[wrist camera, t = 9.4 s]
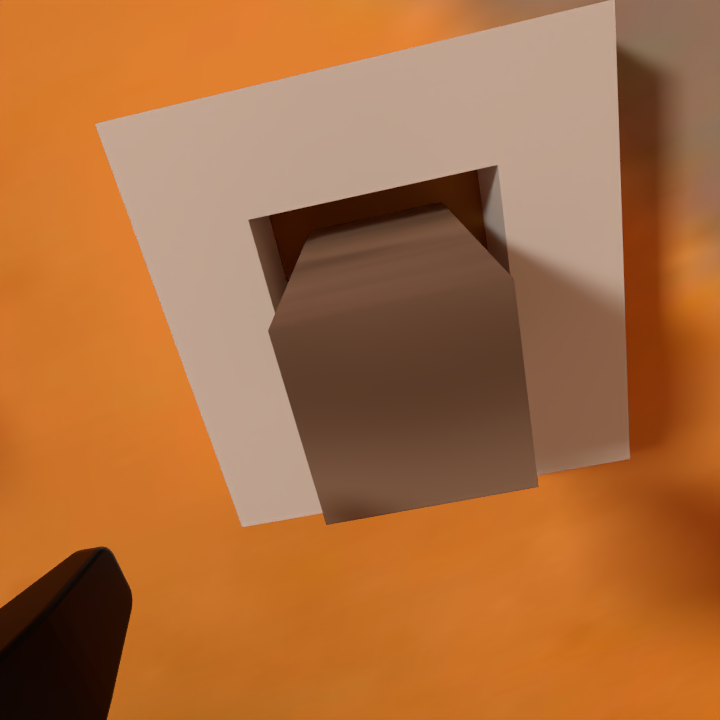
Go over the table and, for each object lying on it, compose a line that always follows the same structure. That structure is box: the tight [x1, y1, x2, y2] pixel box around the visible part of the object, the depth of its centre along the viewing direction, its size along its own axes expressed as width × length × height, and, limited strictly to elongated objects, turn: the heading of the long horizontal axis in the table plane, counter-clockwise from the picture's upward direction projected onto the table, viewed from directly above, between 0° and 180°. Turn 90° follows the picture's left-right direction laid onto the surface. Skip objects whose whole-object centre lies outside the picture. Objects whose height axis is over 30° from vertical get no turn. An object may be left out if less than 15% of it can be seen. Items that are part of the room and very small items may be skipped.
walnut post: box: [268, 202, 538, 525], centre depth 15 cm, size 4×4×9 cm
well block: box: [95, 0, 630, 527], centre depth 17 cm, size 12×12×3 cm
